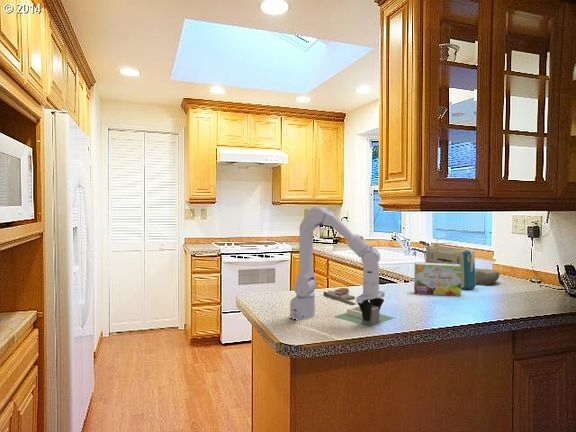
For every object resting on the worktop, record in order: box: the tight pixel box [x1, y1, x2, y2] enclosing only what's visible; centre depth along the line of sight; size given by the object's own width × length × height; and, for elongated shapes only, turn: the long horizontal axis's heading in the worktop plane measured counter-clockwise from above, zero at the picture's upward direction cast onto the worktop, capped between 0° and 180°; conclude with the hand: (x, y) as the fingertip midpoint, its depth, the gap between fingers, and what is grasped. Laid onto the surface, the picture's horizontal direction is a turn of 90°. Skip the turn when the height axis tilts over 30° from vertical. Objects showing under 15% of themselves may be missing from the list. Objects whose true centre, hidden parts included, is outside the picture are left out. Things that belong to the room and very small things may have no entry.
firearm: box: [323, 287, 359, 306], centre depth 188 cm, size 29×2×15 cm
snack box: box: [413, 261, 462, 297], centre depth 198 cm, size 21×6×15 cm, turn 76°
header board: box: [333, 312, 395, 328], centre depth 156 cm, size 16×17×1 cm
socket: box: [346, 305, 362, 319], centre depth 159 cm, size 8×8×2 cm
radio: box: [424, 237, 477, 291], centre depth 219 cm, size 30×8×25 cm, turn 25°
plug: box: [362, 305, 380, 326], centre depth 148 cm, size 4×4×6 cm
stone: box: [475, 268, 500, 286], centre depth 223 cm, size 14×19×8 cm
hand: (370, 319), depth 148 cm, fingers closed on plug, 4 cm apart
